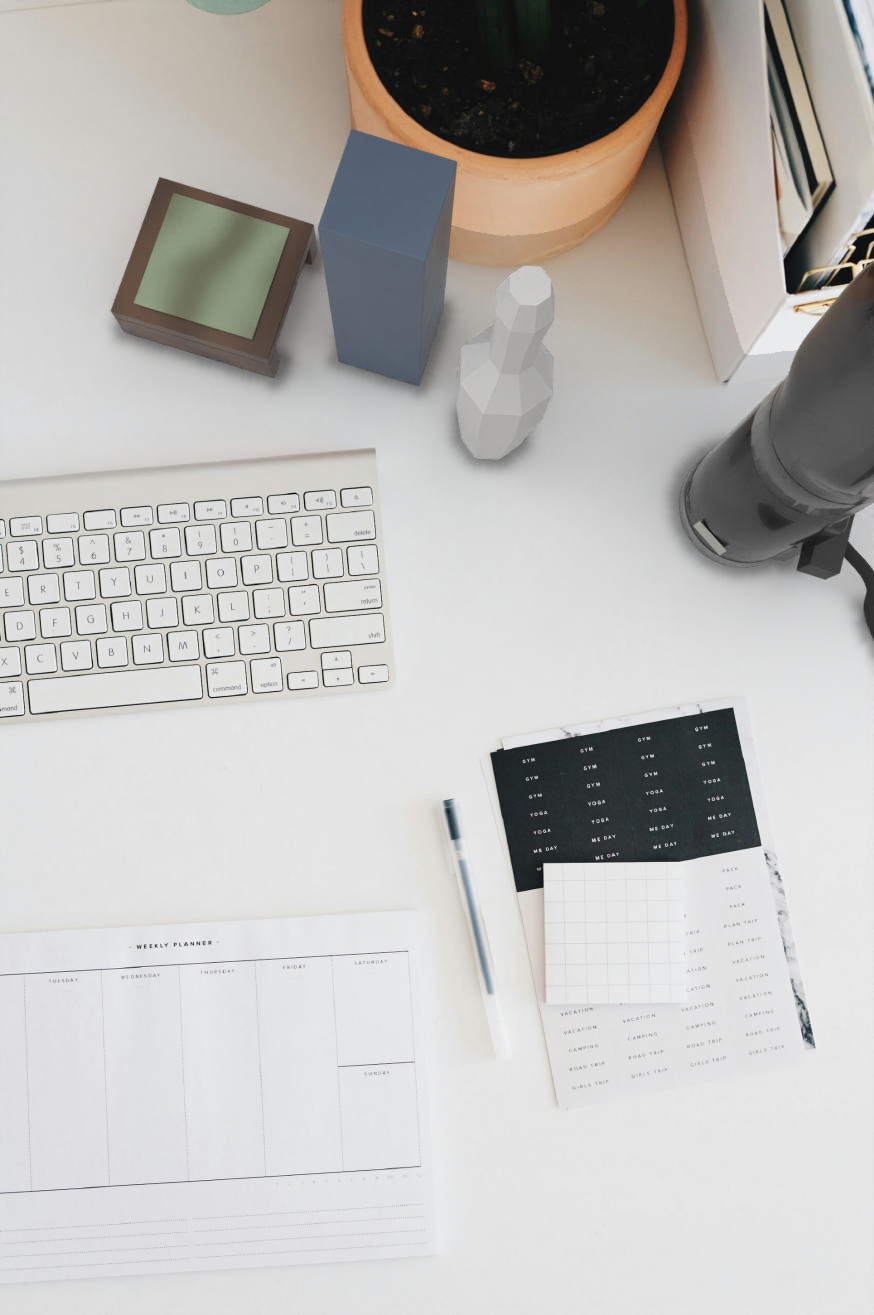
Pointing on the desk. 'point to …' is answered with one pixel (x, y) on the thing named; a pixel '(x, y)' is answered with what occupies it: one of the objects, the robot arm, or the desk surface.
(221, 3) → the mint green cylinder
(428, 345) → the plinth
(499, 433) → the faceted bottle
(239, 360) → the brown green square block
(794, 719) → the desk surface
